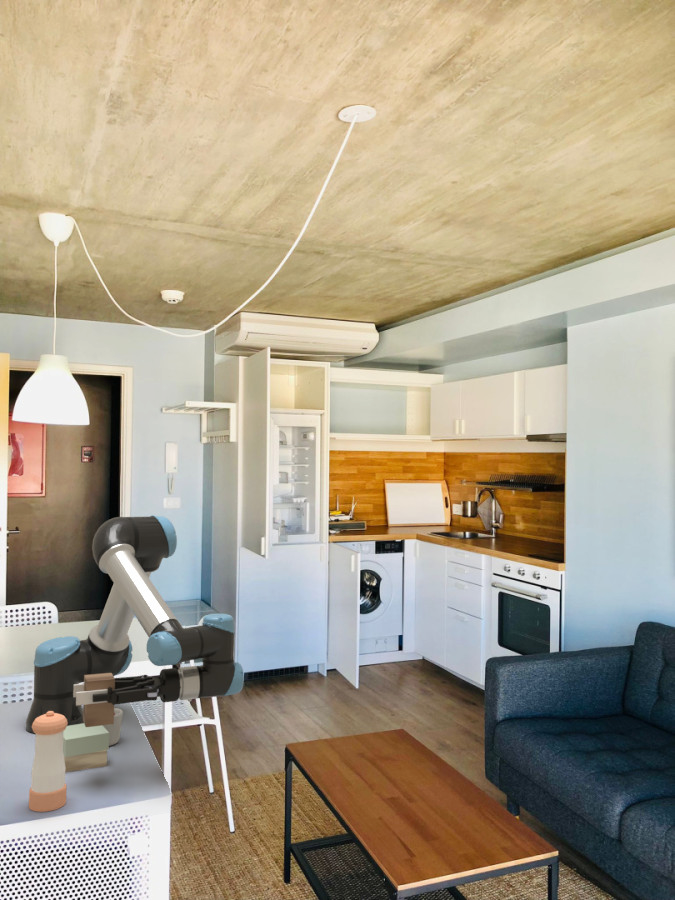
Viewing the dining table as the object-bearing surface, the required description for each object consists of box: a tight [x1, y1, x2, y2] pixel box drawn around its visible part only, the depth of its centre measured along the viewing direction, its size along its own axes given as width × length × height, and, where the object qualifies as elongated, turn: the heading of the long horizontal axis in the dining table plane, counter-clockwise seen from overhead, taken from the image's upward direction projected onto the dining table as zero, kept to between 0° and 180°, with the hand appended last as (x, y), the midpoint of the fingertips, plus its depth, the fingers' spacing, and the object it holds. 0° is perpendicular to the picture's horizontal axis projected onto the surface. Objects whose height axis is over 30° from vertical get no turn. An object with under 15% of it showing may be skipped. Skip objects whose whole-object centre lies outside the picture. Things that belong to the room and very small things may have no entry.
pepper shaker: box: [28, 711, 68, 813], centre depth 155 cm, size 7×7×19 cm
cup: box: [103, 707, 124, 747], centre depth 192 cm, size 11×8×8 cm
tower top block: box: [63, 723, 110, 757], centre depth 178 cm, size 10×10×4 cm
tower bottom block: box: [64, 750, 108, 773], centre depth 178 cm, size 10×10×4 cm
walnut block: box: [82, 673, 116, 727], centre depth 167 cm, size 6×6×10 cm
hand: (75, 694), depth 165 cm, fingers closed on walnut block, 6 cm apart
